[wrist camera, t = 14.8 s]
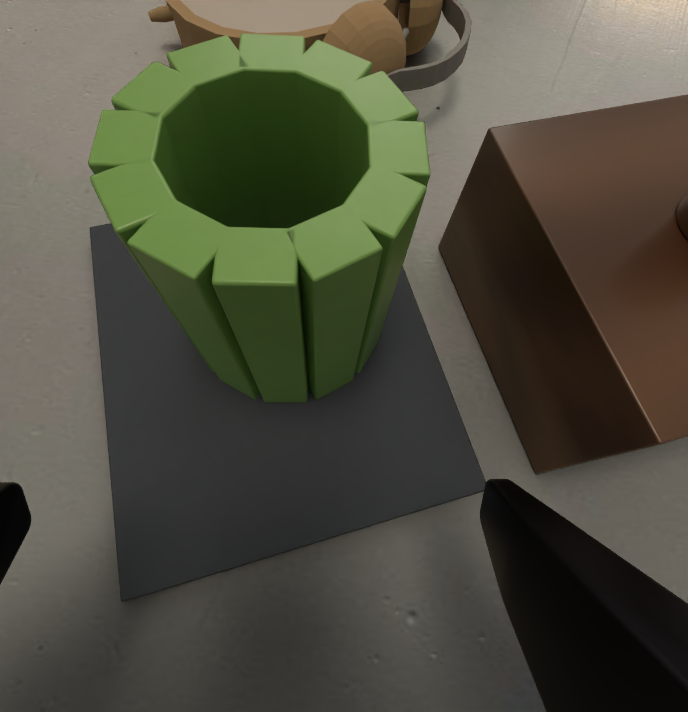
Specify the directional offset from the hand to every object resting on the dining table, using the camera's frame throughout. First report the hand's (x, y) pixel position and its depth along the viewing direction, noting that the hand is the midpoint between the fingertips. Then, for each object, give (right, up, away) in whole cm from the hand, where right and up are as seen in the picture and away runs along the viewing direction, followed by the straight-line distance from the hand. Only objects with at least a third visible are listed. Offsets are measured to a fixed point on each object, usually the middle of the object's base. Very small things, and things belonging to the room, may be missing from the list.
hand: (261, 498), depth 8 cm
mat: (-1, +3, +8) cm, 9 cm away
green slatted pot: (0, +4, +8) cm, 9 cm away
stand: (+12, +4, +9) cm, 16 cm away
